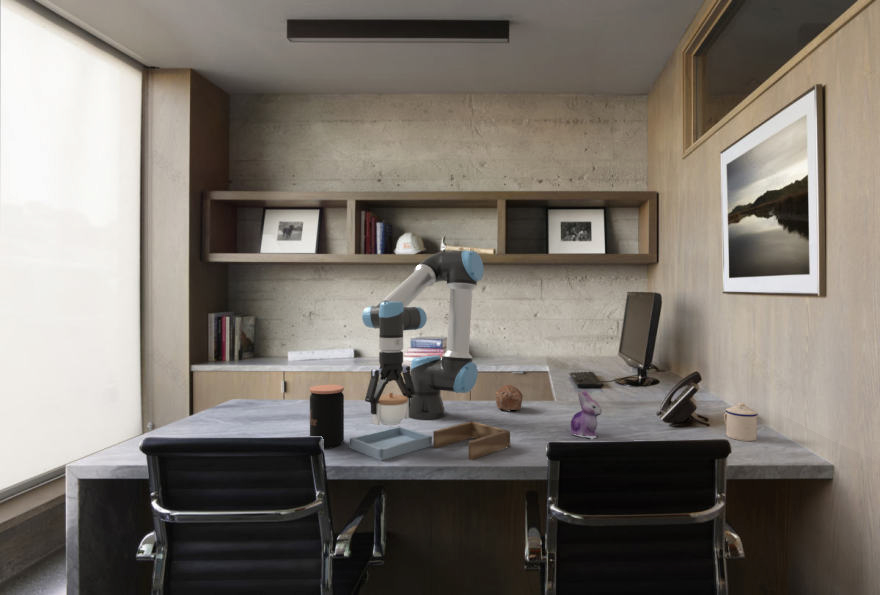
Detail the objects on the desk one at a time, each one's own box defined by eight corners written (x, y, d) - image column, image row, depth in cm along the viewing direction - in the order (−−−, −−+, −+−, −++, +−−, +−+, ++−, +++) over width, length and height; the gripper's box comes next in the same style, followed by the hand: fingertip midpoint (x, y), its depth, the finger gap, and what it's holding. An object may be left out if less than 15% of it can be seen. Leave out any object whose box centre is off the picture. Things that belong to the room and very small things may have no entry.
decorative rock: (495, 405, 213) (495, 382, 213) (522, 406, 212) (522, 382, 211) (494, 412, 200) (495, 388, 200) (523, 413, 199) (523, 388, 198)
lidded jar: (379, 428, 149) (379, 397, 149) (369, 420, 159) (369, 390, 159) (412, 425, 153) (412, 394, 153) (401, 417, 163) (401, 388, 163)
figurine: (601, 440, 163) (601, 395, 163) (569, 437, 167) (569, 392, 166) (602, 433, 172) (602, 389, 172) (572, 430, 175) (572, 387, 175)
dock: (433, 447, 156) (433, 431, 156) (471, 435, 168) (471, 421, 168) (472, 459, 144) (472, 442, 144) (510, 446, 156) (510, 431, 156)
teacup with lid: (764, 440, 163) (764, 405, 163) (739, 442, 161) (740, 406, 161) (736, 430, 175) (736, 397, 175) (713, 432, 173) (713, 398, 173)
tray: (349, 447, 155) (349, 438, 155) (399, 435, 169) (399, 426, 169) (380, 460, 143) (380, 450, 143) (431, 445, 157) (431, 436, 157)
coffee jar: (312, 439, 164) (312, 384, 164) (345, 438, 165) (345, 384, 165) (306, 449, 153) (306, 391, 153) (341, 448, 154) (341, 390, 154)
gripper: (367, 354, 145) (367, 430, 145) (426, 349, 161) (426, 417, 161) (353, 352, 150) (352, 425, 151) (411, 347, 167) (411, 413, 167)
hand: (390, 421), depth 156 cm, fingers closed on lidded jar, 11 cm apart
